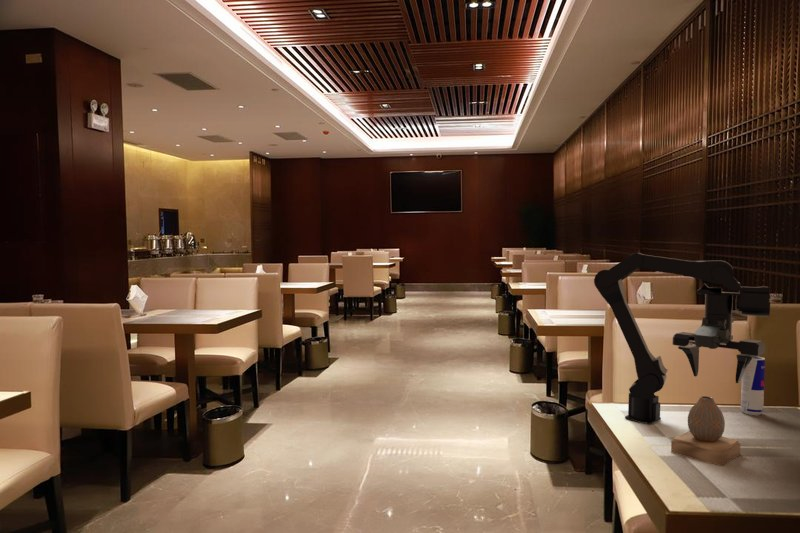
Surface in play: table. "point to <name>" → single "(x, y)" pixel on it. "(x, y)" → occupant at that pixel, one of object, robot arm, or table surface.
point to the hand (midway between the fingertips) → (716, 379)
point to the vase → (706, 420)
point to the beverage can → (753, 387)
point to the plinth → (706, 448)
